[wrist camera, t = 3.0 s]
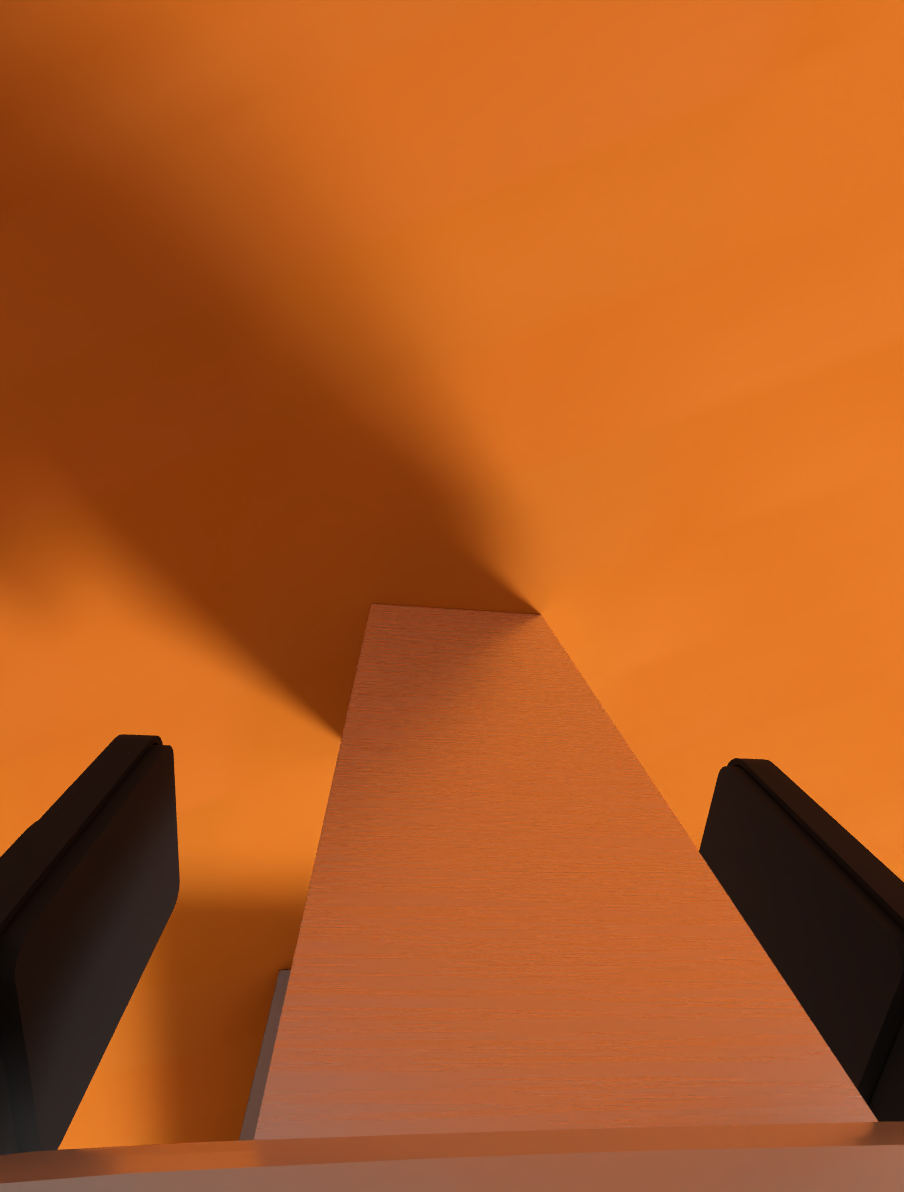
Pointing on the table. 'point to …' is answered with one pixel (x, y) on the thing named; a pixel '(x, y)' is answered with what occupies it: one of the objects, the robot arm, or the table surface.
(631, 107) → the table surface
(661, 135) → the table surface
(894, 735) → the table surface
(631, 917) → the steel pin
